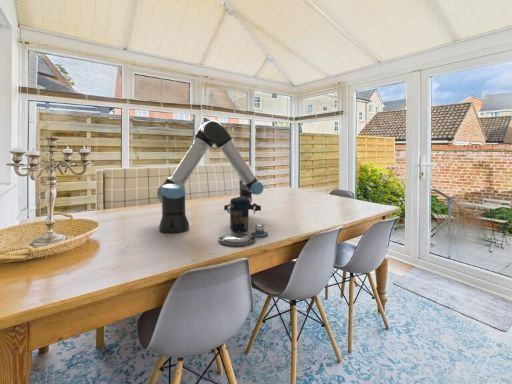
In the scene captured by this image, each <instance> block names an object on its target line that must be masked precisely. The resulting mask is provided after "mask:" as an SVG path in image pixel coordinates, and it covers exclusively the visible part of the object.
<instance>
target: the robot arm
mask: <svg viewBox="0 0 512 384" xmlns="http://www.w3.org/2000/svg"><path fill="white" fill-rule="evenodd" d="M232 139H233V138H232V136H231V134H230V133H229V131H228V130H227V128H225V126H224V125H223V124H222V122H220V121H218V120H209V121H205V122H202V123H201V124H200V125H198V127H197V130H196V133H195V135H194V136H193V143H192V144H191V146H190V147H189V149H188V150H187V152H186V153H185V155H184V156H183V158H182V159H181V161H180V163H178V165H177V167H176V169H175V170H174V172H173V174H172V175H171V176H170V177H167V178H166V179H165V181H164V182H163V183H162V184H161V185H160V186H159V187H158V189H157V192H156V193H157V194H156V195H157V199H158V201H159V202H160V204H161V213H162V214H161V219H160V221H159V225H158V226H159V227H158V231H159V232H161V233H164V234H177V233H183V232H186V231H189V230H190V223H189V220H188V218H187V215H186V184H187V183H188V180H189V179H190V177H191V176H192V174H193V173H194V171H195V169H196V167H197V166H198V165H199V163H200V162H201V161H202V158H203V157H204V155H205V153H206V152H207V151H208V150H211V149H212V148H213V146H214V145H215V147H216V148H217V149H219V150H220V151H221V152H222V154H223V155H224V156H225V158H226V159H227V161H228V162H229V164H230V165H231V166H232V168H233V170H234V172H235V173H236V174H237V176H238V177H239V197H240V198H241V197H244V198H247V199H248V200H249V211H250V210H252V211H253V214H256V212H258V211H259V212H261V211H262V206H261V205H259V204H257V203H256V202H254V203H252V202H253V199H252V198H253V196H252V195H257V196H259V195H261V194H262V193H263V191H264V185H263V184H262V182H260V181H259V180H258V179H257V178H256V176H255V175H254V173H253V171H252V170H251V169H250V167H249V166H248V164H247V163H246V161H245V160H244V158H243V157H242V155H241V153H240V152H239V150H238V149H237V147H236V146H235V144H234V142H233V141H232ZM223 209H224V211H227V214H230V203H229V204H225V205H224V207H223Z"/></svg>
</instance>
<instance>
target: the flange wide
mask: <svg viewBox="0 0 512 384" xmlns="http://www.w3.org/2000/svg"><path fill="white" fill-rule="evenodd" d="M217 239H218V241H217V242H218V244H220V245H222V246H225V247H231V248H242V247H248V246H251V245H253V244H255V243H256V237H254V236H252V234H248V233H245V232H233V233H232V232H231V233H226V234H223V235H220V236H219V237H218V238H217Z"/></svg>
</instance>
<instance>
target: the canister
mask: <svg viewBox="0 0 512 384" xmlns="http://www.w3.org/2000/svg"><path fill="white" fill-rule="evenodd" d="M229 204H230V213H229V215H230V216H229V217H230V218H229V226H230V227H229V229H230V230H231V231H232V232H233V233H245V232H247V231H248V230H249V211H250V210H249V200H248V199H247V198H244V197H241V198H240V196H238V197H234V198H233V197H232V198H231V199H230V201H229Z"/></svg>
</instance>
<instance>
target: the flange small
mask: <svg viewBox="0 0 512 384" xmlns="http://www.w3.org/2000/svg"><path fill="white" fill-rule="evenodd" d="M251 235H252V236H254V237H255V238H257V239H259V238H262V239H263V238H267V237H269V233H268V231H265V224H264V223H256V224H255V230H254V231H252V232H251Z"/></svg>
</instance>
